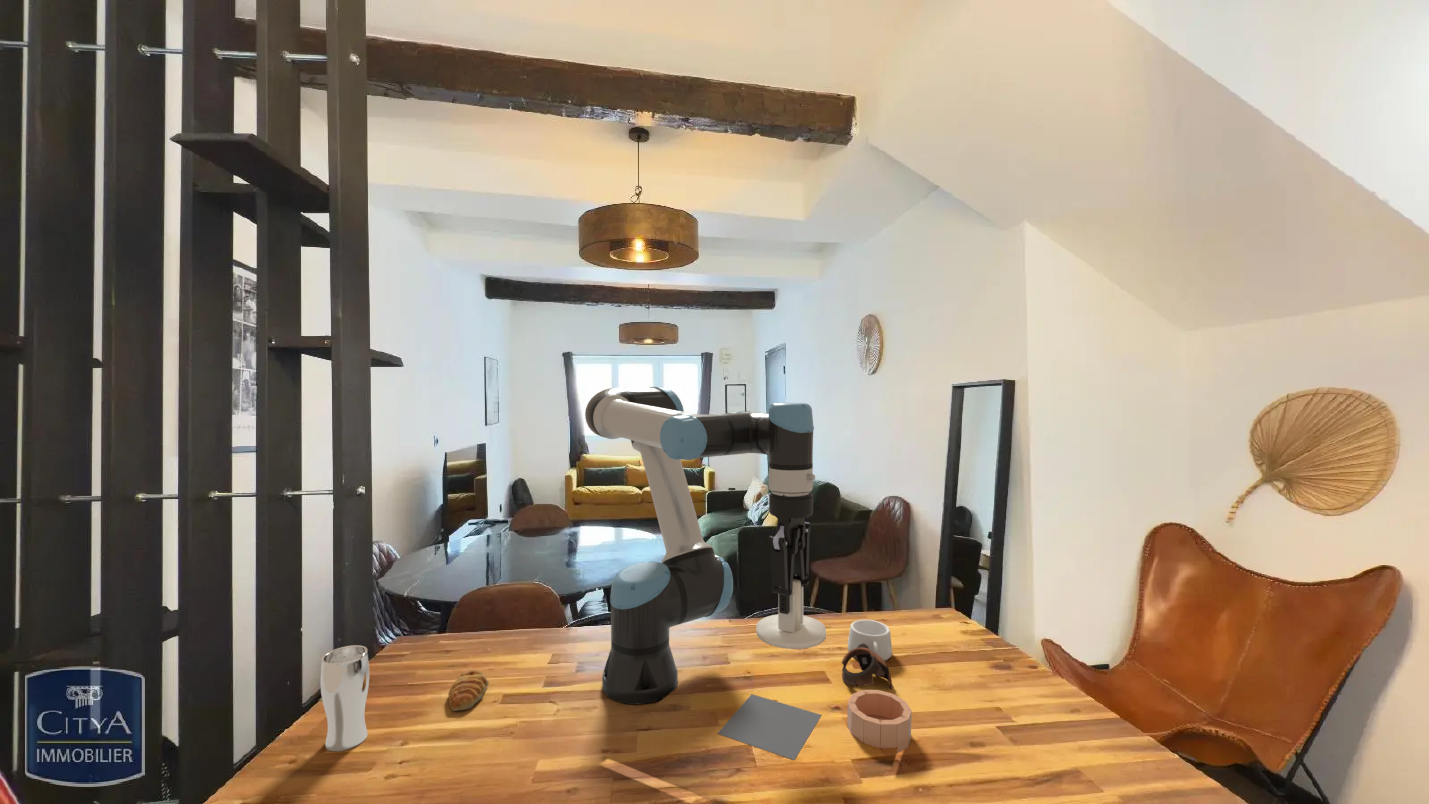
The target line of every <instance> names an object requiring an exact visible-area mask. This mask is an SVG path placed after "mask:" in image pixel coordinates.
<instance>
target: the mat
mask: <svg viewBox="0 0 1429 804" xmlns="http://www.w3.org/2000/svg"><path fill="white" fill-rule="evenodd" d="M822 716H823V715H822V714H819V713H817V712H813V711H809V710H807V709H804V708H803V709H802V708H799V707H797V706H793V705H789V704H786V703H783V702H780V701H776V700H773V699H769V698H767V697H762V696H759V695H756V694H752V693H751V694H750V695H749V696H748V698H746V700H745V701H744V702H743V703H742V705H741V706H740V707H738V709H737V710H736V711H735V713H734V714H733V715H732V716H731V717H730V719H729V720H727V722H726V723H725V724H724V725H723V727H721V729H720V730H719V731H718V732H717V735H720V736H723V737H726V738H728V739H731V740H735V741H738V742H740V743H743V744H746V745H748V746H751V747H754V748H758V749H760V750H763V751H766V752H769V753H772V754H775V755H778V756H780V757H784V758H787V759H790V760H793V761H795V760H796V759H797V757H798V755H799V754H800V751H801V750H802V748H803V747H804V745H805V744H806V742H807V740H808V739H809V737H810V735H811V734H812V732H813V731H814V729H815V727H816V726H817V724H818V722H819V720H820V718H821V717H822Z"/></svg>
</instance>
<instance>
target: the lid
mask: <svg viewBox="0 0 1429 804" xmlns="http://www.w3.org/2000/svg"><path fill="white" fill-rule="evenodd" d="M792 593H795V631H794V632H793V633H792V632H787V631H783V630H779V629H778V613H777V614H772V615H768V616H765V617H763V618H761V619H760V620H758V622H757V623H756V636H757V637H758V639H759V640H761V641H762V642H764V643H765V644H768V645H770V646H773V647H776V648H781V649H789V650H803V649H804V650H805V649H810V648H814V647H817V646H819V645H820V644H822V643H823V642H825V640H826V639H827V629H826V626H825V624H824V623H822V622H821V621H820V620H818V619H816V618H813V617H811V616H807V615H803V624H801V582H800V581H799V580H796V579H793V588H792Z"/></svg>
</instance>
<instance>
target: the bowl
mask: <svg viewBox="0 0 1429 804" xmlns="http://www.w3.org/2000/svg"><path fill="white" fill-rule="evenodd" d="M912 711H913V710H912V709H911V707H910V706H909V704H908V702H907V701H906V700H904V699H903V698H901V697H900V696H898V695H896V694H894V693H891V692H887V691H884V690H879V689H862V690H859V691H856V692H854V693H852V694H851V695H850V697H849V699H848V701H847V711H846V712H847V721H846V723H847V727H848V729H849V732H850V734H851V735H852V736H853V737H855V738H856V739H858V740H859V741H860V742H861V743H864V744H865V745H868V746H872V747H875V748H877V749H878V748H879V749H897V750H896V754H898V753H900V752H902V751H905V750H906V749H908V748H909V745H910V743H911V739H912V713H913V712H912Z"/></svg>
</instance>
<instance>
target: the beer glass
mask: <svg viewBox="0 0 1429 804" xmlns="http://www.w3.org/2000/svg"><path fill="white" fill-rule="evenodd" d="M320 667H321V668H320V694H321V701H322V704H323V708H324V712H325V716H326V720H327V721H326V722H327V734H326V738H325V742H324V743H325V745H324V746H325V749H326V750H327V751H329V752H343V751H347V750H350V749H353V748H355V747H357V746H359V745H361V744H362V743H363V742H364V741H365V740H366V739H367V737H368V729H367V725H366V720H365V710H366V704H367V698H368V692H369V684H370V663H369V654H368V648H367V646H363V645H361V644H360V645H355V644H353V645H352V644H351V645H346V646H342V647H338V648H335V649H332V650H331V651H328V652H326V653H325V654H324V655H323V656H322V657H321V665H320Z"/></svg>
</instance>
